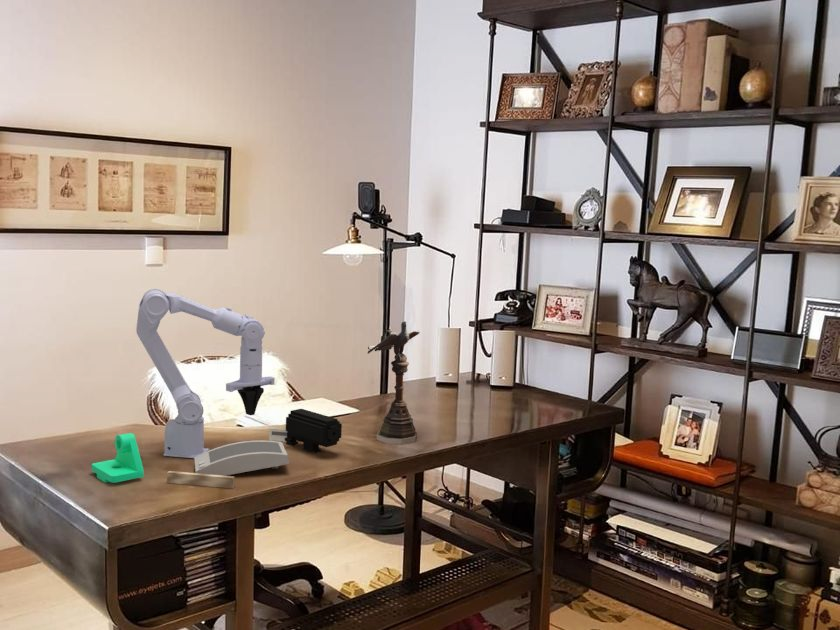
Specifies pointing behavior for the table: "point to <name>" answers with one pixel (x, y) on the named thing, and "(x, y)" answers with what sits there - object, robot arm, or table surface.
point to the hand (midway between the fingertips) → (250, 414)
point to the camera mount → (121, 461)
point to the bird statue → (397, 392)
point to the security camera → (312, 430)
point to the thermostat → (241, 457)
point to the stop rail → (200, 479)
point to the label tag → (277, 434)
